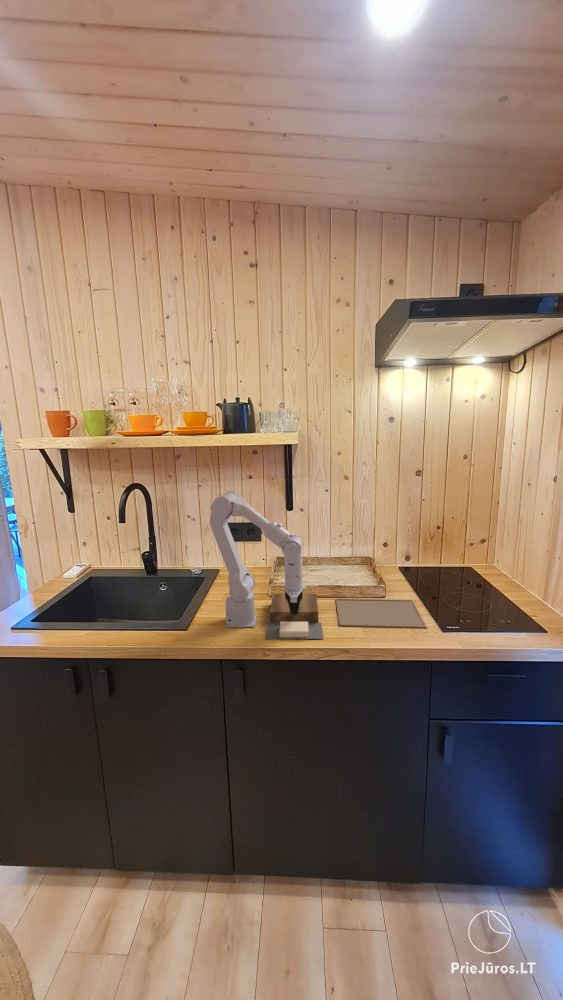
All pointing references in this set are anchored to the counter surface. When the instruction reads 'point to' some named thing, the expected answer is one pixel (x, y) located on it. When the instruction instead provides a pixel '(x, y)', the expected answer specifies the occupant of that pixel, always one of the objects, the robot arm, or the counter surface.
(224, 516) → the robot arm
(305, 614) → the brown wooden flat block
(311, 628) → the mat
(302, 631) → the beige rectangular block
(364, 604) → the taupe placemat
